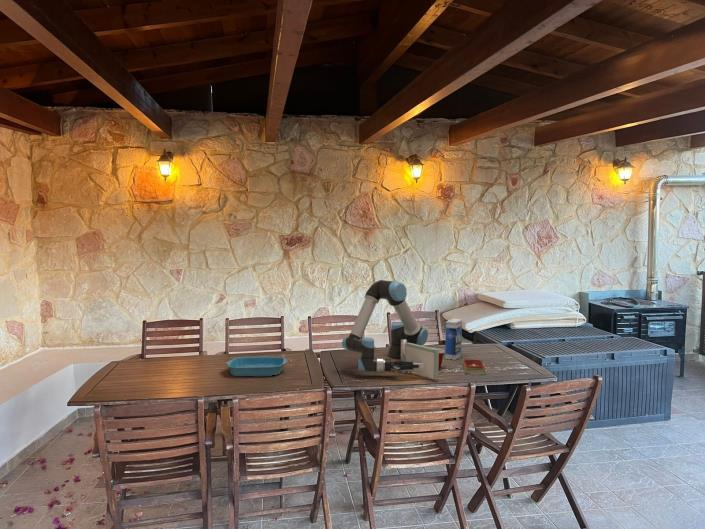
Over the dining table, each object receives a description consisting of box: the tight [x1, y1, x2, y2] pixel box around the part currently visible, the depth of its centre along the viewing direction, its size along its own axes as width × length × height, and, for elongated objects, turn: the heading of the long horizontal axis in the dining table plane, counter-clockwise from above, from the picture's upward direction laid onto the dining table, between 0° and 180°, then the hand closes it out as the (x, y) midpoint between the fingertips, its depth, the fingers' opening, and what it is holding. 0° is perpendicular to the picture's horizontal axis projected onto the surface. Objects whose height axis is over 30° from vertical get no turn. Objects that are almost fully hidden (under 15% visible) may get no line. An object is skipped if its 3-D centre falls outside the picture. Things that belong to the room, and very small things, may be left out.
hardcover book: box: [462, 358, 486, 376], centre depth 295 cm, size 12×21×4 cm, turn 171°
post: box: [393, 339, 412, 375], centre depth 289 cm, size 8×8×20 cm
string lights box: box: [444, 318, 463, 361], centre depth 321 cm, size 13×8×26 cm, turn 148°
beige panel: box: [406, 343, 439, 380], centre depth 279 cm, size 23×2×17 cm, turn 43°
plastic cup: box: [432, 347, 445, 370], centre depth 296 cm, size 11×11×12 cm
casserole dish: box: [225, 356, 288, 377], centre depth 286 cm, size 37×22×7 cm, turn 92°
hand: (424, 365), depth 276 cm, fingers closed
